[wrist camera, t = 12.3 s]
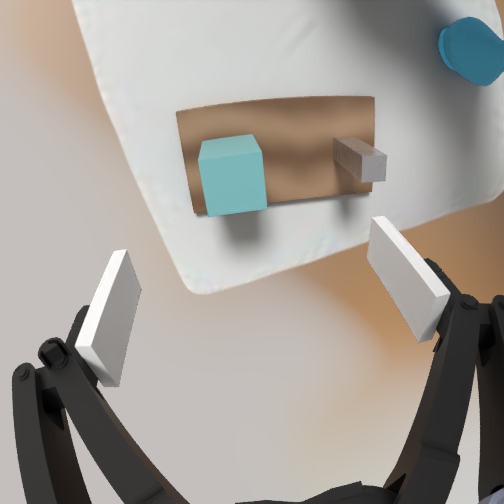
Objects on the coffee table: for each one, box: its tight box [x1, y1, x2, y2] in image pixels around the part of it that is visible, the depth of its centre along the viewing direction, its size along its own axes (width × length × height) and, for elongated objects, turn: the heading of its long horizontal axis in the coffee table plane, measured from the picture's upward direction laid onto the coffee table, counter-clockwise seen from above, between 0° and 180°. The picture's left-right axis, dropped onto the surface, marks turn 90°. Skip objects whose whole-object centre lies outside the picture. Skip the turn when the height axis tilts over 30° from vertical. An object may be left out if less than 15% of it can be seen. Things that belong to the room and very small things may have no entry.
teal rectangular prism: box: [198, 134, 267, 217], centre depth 29 cm, size 5×5×8 cm
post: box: [333, 136, 387, 183], centre depth 30 cm, size 3×3×8 cm
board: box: [176, 96, 375, 213], centre depth 34 cm, size 12×22×1 cm, turn 96°
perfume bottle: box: [438, 17, 504, 86], centre depth 21 cm, size 9×9×15 cm
